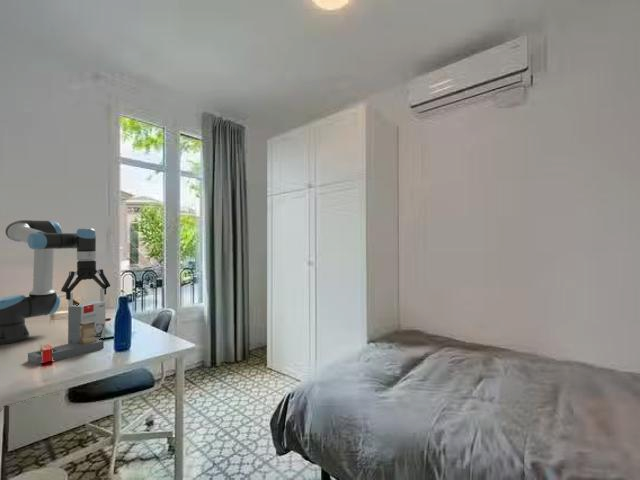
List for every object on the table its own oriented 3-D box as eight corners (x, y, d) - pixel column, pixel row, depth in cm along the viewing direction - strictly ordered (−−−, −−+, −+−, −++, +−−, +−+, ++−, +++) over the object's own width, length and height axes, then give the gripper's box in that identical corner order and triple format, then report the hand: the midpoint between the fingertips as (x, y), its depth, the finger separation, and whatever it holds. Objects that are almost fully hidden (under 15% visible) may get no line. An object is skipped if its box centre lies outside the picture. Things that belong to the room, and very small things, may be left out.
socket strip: (27, 361, 144) (27, 352, 144) (93, 344, 166) (93, 337, 166) (36, 365, 138) (36, 356, 138) (103, 348, 160) (103, 340, 160)
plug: (79, 349, 158) (79, 323, 158) (90, 347, 162) (90, 321, 162) (84, 351, 156) (83, 324, 156) (94, 348, 160) (94, 322, 160)
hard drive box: (79, 346, 163) (79, 306, 163) (67, 345, 164) (66, 306, 164) (106, 337, 178) (105, 301, 178) (94, 336, 180) (94, 300, 180)
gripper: (59, 262, 146) (59, 309, 146) (117, 259, 167) (118, 300, 167) (52, 261, 150) (52, 307, 150) (110, 258, 171) (110, 299, 171)
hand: (87, 304), depth 159 cm, fingers open, 13 cm apart
